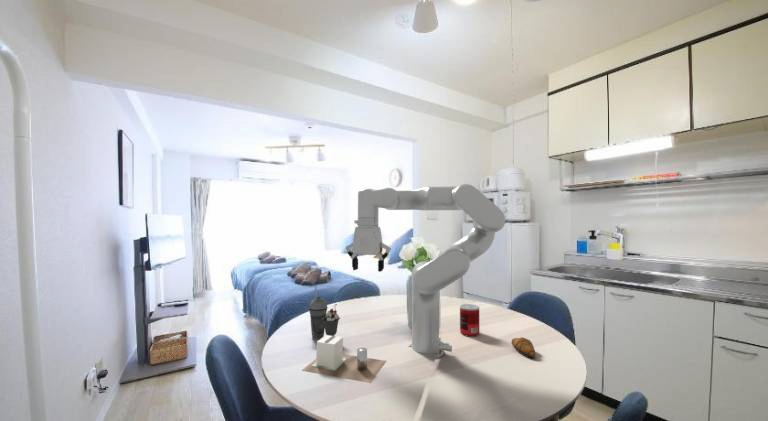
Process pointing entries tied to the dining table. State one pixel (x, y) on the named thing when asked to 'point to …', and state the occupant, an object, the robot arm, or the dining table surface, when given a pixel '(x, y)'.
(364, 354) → the post
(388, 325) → the dining table surface
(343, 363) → the board
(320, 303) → the beverage cup
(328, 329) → the sundae
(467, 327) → the canned food
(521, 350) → the croissant
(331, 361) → the white cardboard box
